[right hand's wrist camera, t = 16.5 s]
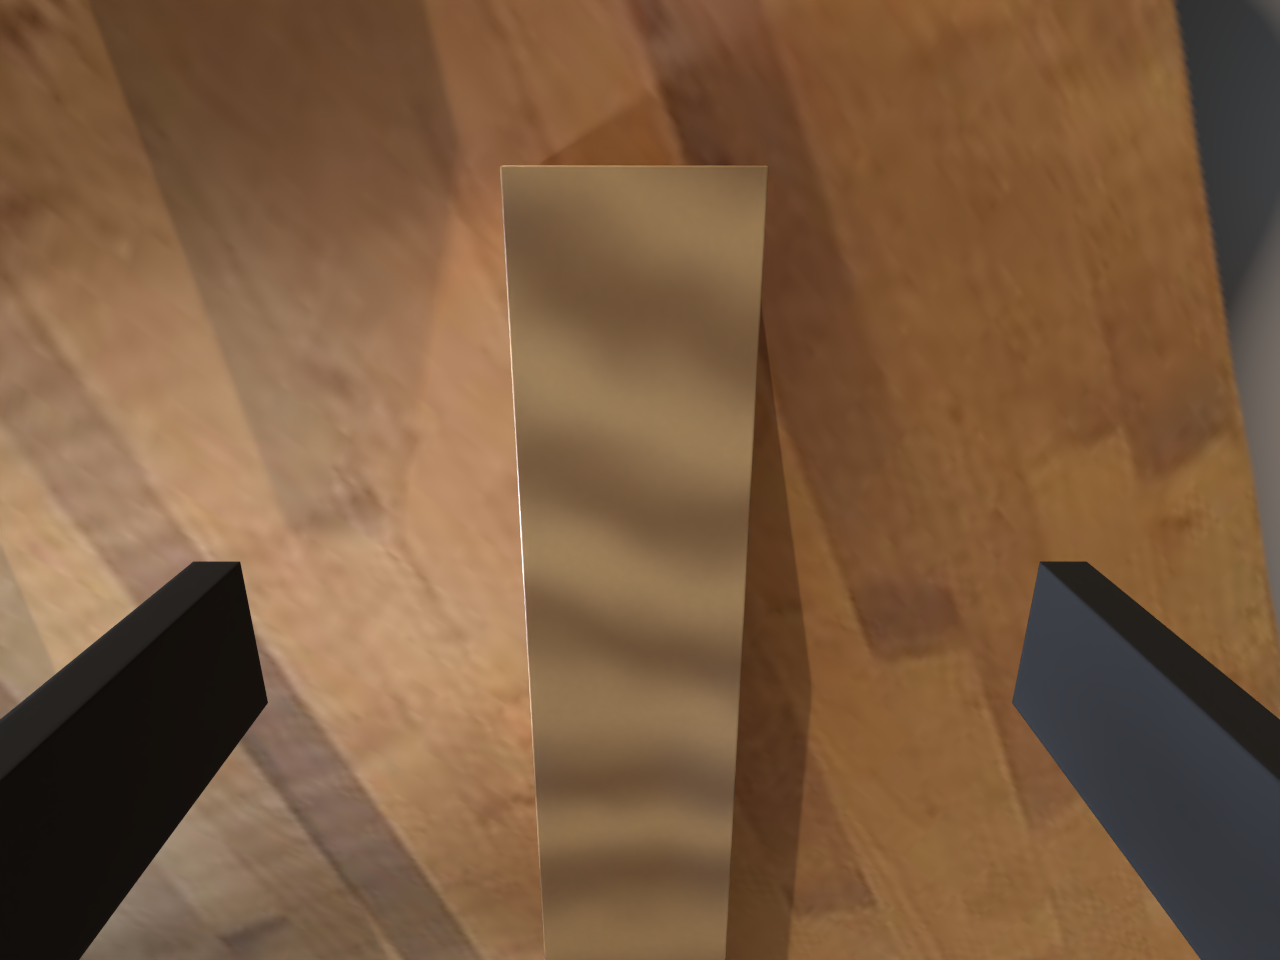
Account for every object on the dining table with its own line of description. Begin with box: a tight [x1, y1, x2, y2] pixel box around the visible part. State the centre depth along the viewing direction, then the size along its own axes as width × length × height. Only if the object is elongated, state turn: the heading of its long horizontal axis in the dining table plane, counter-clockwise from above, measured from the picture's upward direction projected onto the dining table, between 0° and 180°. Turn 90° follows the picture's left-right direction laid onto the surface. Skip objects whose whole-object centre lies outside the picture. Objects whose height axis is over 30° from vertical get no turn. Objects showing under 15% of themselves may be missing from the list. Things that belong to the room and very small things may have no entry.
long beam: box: [500, 165, 768, 960], centre depth 44 cm, size 81×9×7 cm, turn 0°
